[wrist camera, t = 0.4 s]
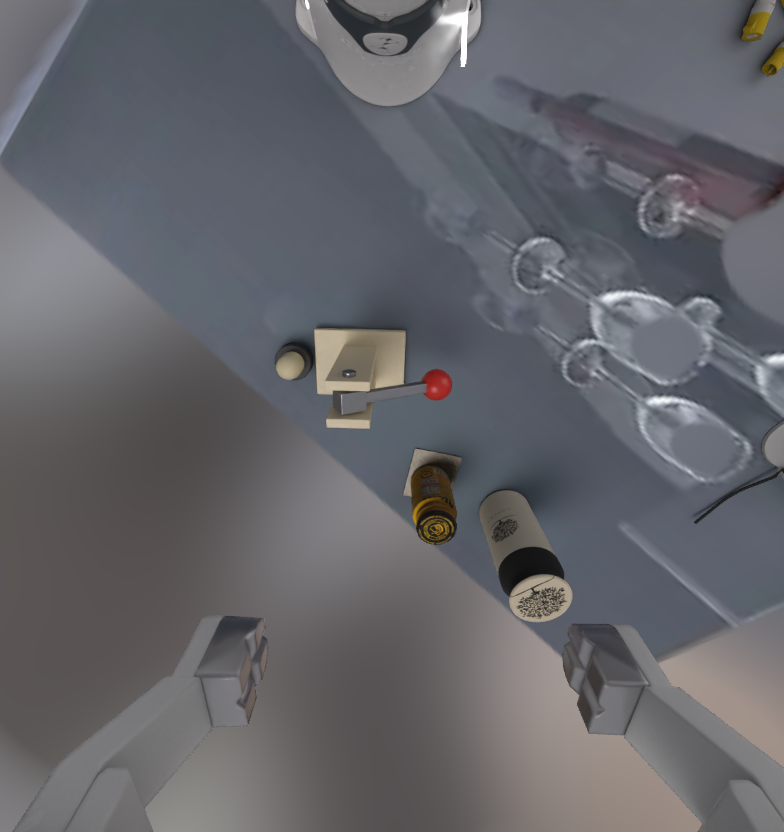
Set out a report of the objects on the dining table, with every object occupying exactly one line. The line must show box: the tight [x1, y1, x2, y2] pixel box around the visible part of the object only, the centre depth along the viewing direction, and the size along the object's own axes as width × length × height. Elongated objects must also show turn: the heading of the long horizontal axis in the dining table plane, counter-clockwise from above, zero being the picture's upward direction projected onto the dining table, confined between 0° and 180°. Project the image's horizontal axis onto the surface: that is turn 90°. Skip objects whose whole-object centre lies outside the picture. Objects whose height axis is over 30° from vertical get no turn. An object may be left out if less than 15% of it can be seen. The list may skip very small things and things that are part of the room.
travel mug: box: [479, 490, 572, 622], centre depth 56 cm, size 8×8×18 cm
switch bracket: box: [314, 328, 406, 429], centre depth 47 cm, size 12×9×17 cm
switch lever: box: [333, 369, 452, 415], centre depth 44 cm, size 14×4×4 cm, turn 88°
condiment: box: [403, 449, 462, 545], centre depth 56 cm, size 7×8×12 cm
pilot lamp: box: [275, 343, 313, 380], centre depth 52 cm, size 5×5×5 cm
